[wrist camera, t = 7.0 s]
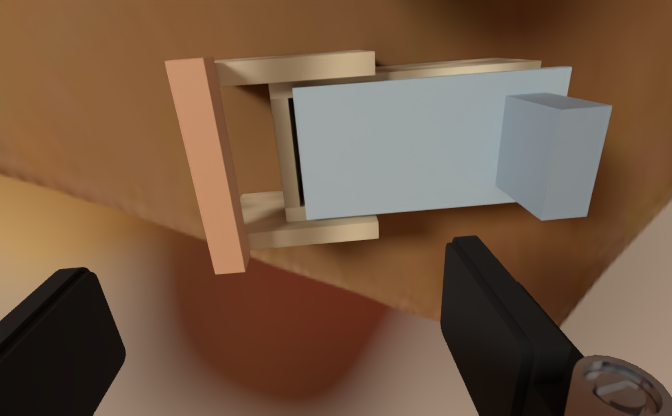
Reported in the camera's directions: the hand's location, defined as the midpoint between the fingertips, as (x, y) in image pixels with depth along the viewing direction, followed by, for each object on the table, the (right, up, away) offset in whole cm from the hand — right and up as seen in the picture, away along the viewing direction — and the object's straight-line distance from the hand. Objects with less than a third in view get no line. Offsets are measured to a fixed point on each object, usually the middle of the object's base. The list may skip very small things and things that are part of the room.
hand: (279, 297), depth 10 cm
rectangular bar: (-5, +5, +12) cm, 14 cm away
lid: (+7, +6, +13) cm, 16 cm away
